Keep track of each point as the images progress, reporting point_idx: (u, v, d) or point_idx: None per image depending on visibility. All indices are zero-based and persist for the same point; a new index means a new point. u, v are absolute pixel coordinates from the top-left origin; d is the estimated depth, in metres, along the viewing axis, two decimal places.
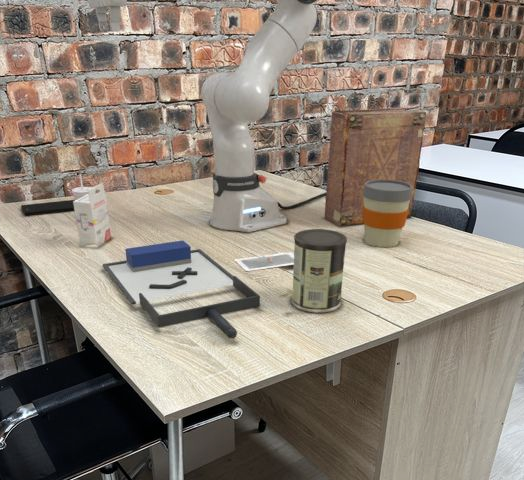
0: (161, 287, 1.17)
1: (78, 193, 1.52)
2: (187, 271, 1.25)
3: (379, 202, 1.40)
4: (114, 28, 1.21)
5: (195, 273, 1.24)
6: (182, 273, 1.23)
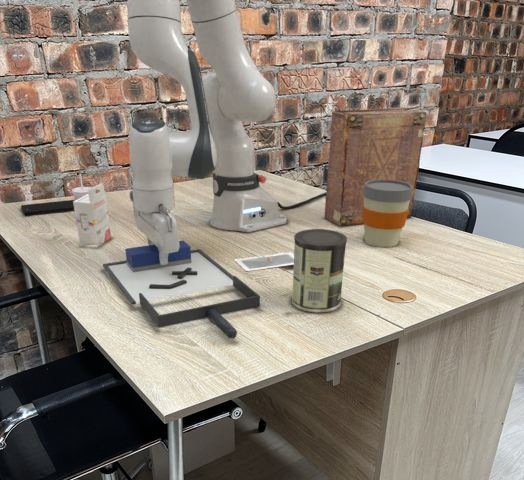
0: (161, 287, 1.17)
1: (78, 193, 1.52)
2: (187, 271, 1.25)
3: (379, 202, 1.40)
4: (162, 262, 1.26)
5: (195, 273, 1.24)
6: (182, 273, 1.23)
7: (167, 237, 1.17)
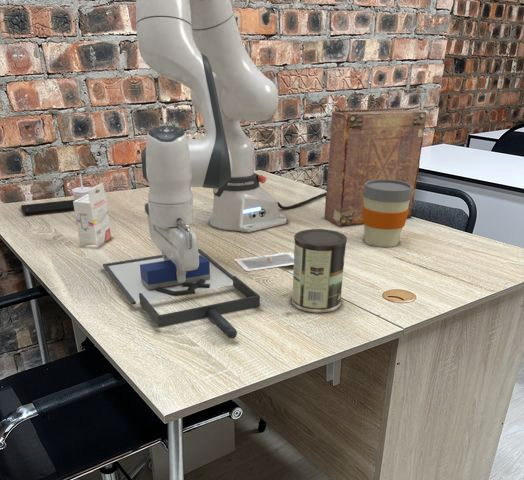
0: (166, 292, 1.15)
1: (78, 193, 1.52)
2: (199, 283, 1.19)
3: (379, 202, 1.40)
4: (180, 280, 1.17)
5: (207, 286, 1.18)
6: (193, 285, 1.18)
7: (186, 254, 1.08)
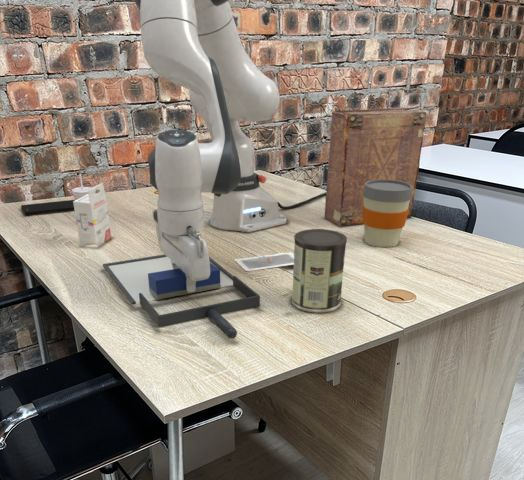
0: None
1: (78, 193, 1.52)
2: None
3: (379, 202, 1.40)
4: (190, 290, 1.13)
5: None
6: None
7: (197, 263, 1.04)
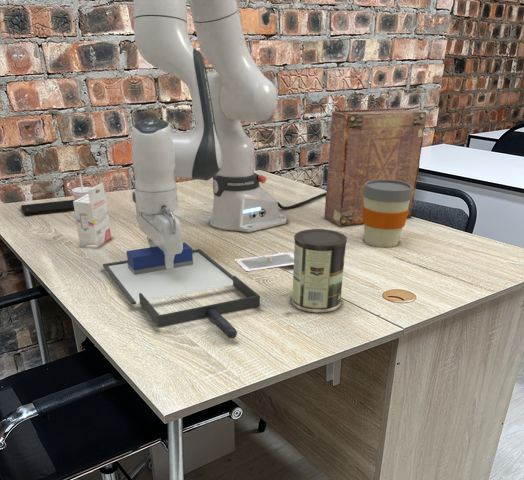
0: None
1: (78, 193, 1.52)
2: None
3: (379, 202, 1.40)
4: (168, 266, 1.23)
5: None
6: None
7: (170, 239, 1.16)
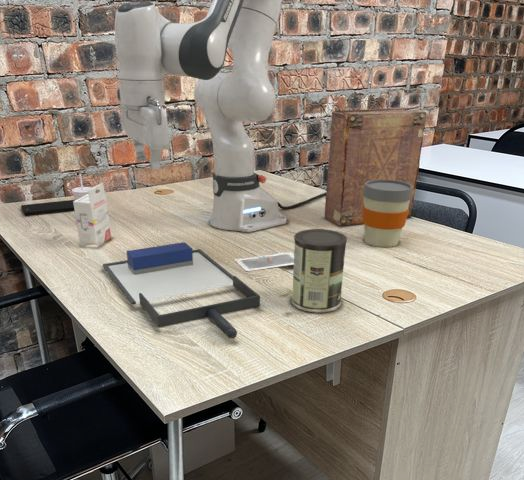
0: None
1: (78, 193, 1.52)
2: None
3: (379, 202, 1.40)
4: (154, 167, 1.16)
5: None
6: None
7: (156, 130, 1.09)
